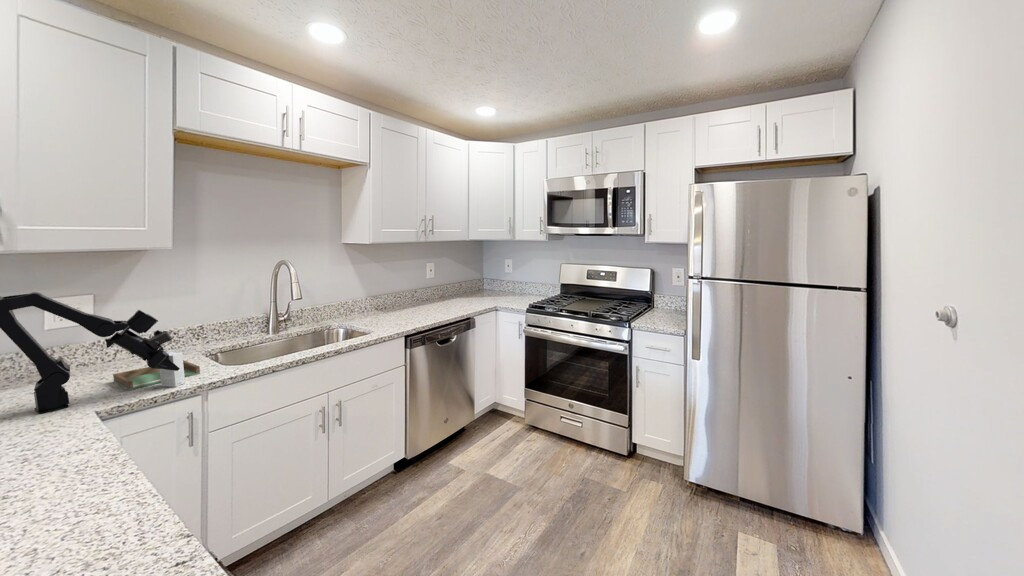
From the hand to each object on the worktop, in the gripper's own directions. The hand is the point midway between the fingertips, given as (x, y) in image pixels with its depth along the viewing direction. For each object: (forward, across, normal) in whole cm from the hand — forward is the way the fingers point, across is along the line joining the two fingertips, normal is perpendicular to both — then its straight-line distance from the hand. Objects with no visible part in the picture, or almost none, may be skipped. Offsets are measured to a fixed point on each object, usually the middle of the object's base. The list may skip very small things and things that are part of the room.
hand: (176, 366), depth 156 cm
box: (+2, +14, +8) cm, 16 cm away
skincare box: (+4, 0, +6) cm, 7 cm away
